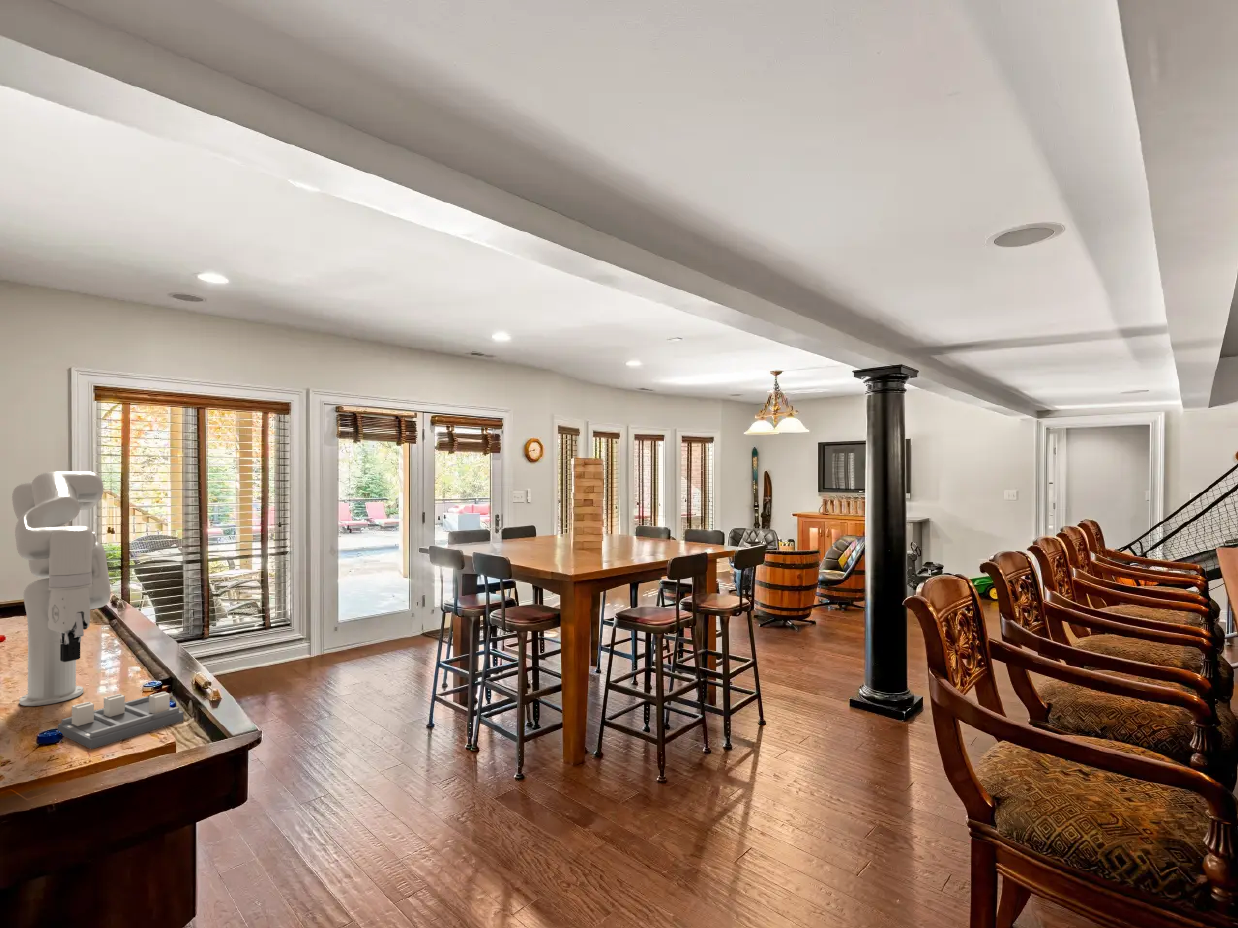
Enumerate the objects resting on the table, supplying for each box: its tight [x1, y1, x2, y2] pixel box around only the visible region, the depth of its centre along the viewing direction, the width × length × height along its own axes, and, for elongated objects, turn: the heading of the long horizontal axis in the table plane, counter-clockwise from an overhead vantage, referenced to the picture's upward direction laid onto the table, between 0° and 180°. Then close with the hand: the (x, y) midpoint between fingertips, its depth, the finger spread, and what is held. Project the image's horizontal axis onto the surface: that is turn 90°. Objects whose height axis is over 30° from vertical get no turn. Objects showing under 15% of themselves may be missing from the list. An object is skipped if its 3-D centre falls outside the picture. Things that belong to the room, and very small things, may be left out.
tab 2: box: [103, 693, 126, 717], centre depth 149 cm, size 3×3×4 cm
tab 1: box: [71, 701, 95, 726], centre depth 144 cm, size 3×3×4 cm
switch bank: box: [57, 696, 185, 750], centre depth 147 cm, size 17×18×3 cm
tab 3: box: [148, 691, 171, 714], centre depth 151 cm, size 3×3×4 cm
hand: (70, 659), depth 147 cm, fingers closed
